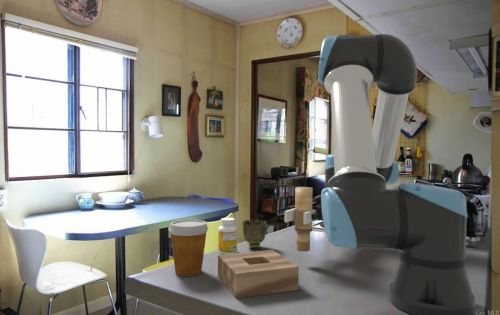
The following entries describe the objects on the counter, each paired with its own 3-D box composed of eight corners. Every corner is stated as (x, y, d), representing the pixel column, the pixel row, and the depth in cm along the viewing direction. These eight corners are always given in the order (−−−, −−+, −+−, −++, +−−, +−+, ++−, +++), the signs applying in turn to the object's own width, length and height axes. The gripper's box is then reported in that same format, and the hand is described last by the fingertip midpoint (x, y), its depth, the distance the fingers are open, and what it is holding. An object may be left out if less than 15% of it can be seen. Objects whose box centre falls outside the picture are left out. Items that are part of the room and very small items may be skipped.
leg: (315, 251, 97) (316, 188, 97) (299, 252, 95) (299, 188, 95) (307, 247, 101) (307, 186, 101) (291, 248, 100) (291, 187, 99)
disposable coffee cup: (204, 264, 98) (204, 218, 98) (211, 276, 89) (211, 225, 89) (166, 268, 95) (166, 220, 95) (170, 280, 86) (170, 228, 86)
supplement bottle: (219, 249, 113) (219, 216, 113) (237, 249, 113) (237, 217, 112) (217, 254, 108) (217, 220, 107) (236, 254, 107) (236, 220, 107)
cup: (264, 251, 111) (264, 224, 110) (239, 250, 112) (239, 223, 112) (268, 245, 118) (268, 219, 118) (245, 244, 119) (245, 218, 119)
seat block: (298, 289, 81) (298, 266, 81) (235, 298, 76) (235, 273, 76) (272, 269, 94) (272, 249, 94) (217, 276, 90) (217, 254, 89)
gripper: (355, 222, 109) (329, 237, 89) (299, 216, 118) (263, 229, 98) (356, 195, 109) (329, 205, 89) (299, 192, 118) (264, 200, 98)
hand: (295, 217), depth 94 cm, fingers closed on leg, 4 cm apart
